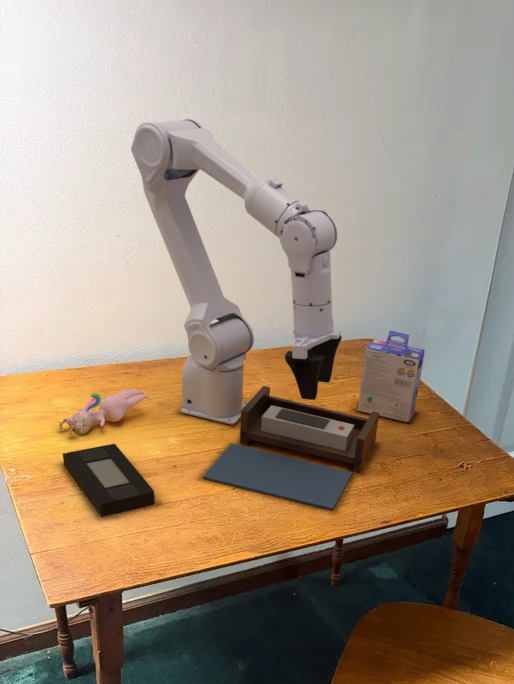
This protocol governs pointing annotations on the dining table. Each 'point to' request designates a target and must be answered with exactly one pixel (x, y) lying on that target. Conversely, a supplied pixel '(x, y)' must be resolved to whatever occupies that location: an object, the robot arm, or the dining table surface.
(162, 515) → the dining table surface
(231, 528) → the dining table surface
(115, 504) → the vhs tape
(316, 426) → the remote
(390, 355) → the ink cartridge box
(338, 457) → the dark wooden tray
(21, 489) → the dining table surface
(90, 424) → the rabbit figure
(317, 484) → the desk mat
